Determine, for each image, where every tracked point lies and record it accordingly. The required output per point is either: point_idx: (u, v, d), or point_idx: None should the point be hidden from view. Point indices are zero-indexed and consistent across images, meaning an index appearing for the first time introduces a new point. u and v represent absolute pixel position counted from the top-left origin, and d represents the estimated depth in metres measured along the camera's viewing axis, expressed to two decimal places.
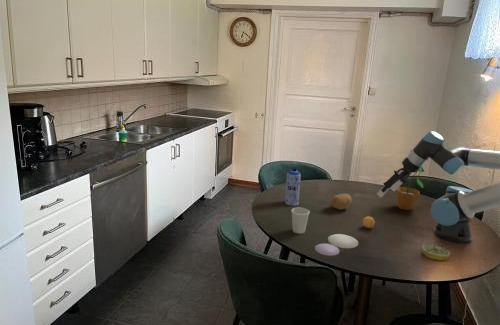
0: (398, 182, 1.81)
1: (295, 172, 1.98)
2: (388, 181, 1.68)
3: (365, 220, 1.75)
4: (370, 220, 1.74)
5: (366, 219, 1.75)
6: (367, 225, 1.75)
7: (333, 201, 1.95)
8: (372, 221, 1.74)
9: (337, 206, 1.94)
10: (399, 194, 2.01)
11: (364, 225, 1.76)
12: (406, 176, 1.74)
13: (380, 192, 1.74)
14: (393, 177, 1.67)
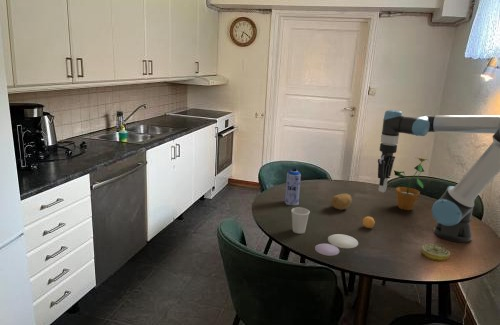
0: None
1: (295, 172, 1.98)
2: (379, 173, 1.74)
3: (365, 220, 1.75)
4: (370, 220, 1.74)
5: (366, 219, 1.75)
6: (367, 225, 1.75)
7: (333, 201, 1.95)
8: (372, 221, 1.74)
9: (337, 206, 1.94)
10: (399, 194, 2.01)
11: (364, 225, 1.76)
12: (389, 163, 1.75)
13: (380, 187, 1.78)
14: (379, 168, 1.73)
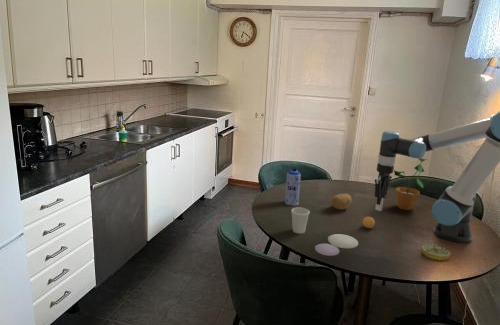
0: None
1: (295, 172, 1.98)
2: (376, 193, 1.77)
3: (365, 220, 1.75)
4: (370, 220, 1.74)
5: (366, 219, 1.75)
6: (367, 225, 1.75)
7: (333, 201, 1.95)
8: (372, 221, 1.74)
9: (337, 206, 1.94)
10: (399, 194, 2.01)
11: (364, 225, 1.76)
12: (386, 183, 1.78)
13: (377, 206, 1.82)
14: (376, 188, 1.76)
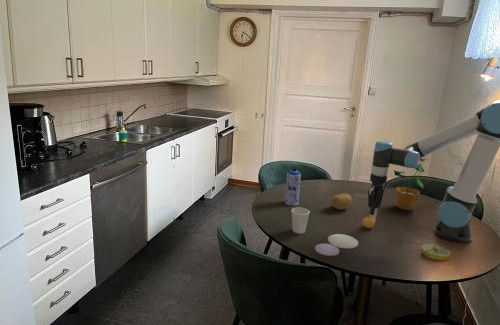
0: None
1: (295, 172, 1.98)
2: (369, 203, 1.75)
3: (365, 220, 1.75)
4: (370, 220, 1.74)
5: (366, 219, 1.75)
6: (367, 225, 1.75)
7: (333, 201, 1.95)
8: (372, 221, 1.74)
9: (337, 206, 1.94)
10: (399, 194, 2.01)
11: (364, 225, 1.76)
12: (379, 193, 1.76)
13: (371, 216, 1.80)
14: (369, 198, 1.74)
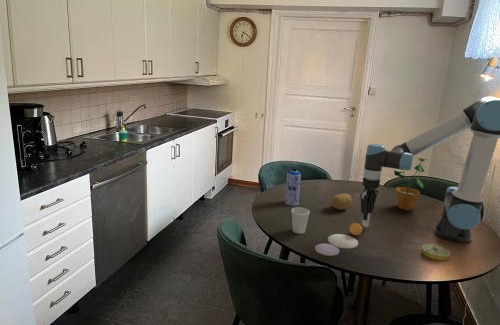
0: None
1: (295, 172, 1.98)
2: (362, 208, 1.70)
3: None
4: None
5: None
6: (359, 224, 1.68)
7: (333, 201, 1.95)
8: None
9: (337, 206, 1.94)
10: (399, 194, 2.01)
11: (355, 223, 1.69)
12: (372, 198, 1.71)
13: (364, 222, 1.74)
14: (362, 203, 1.69)
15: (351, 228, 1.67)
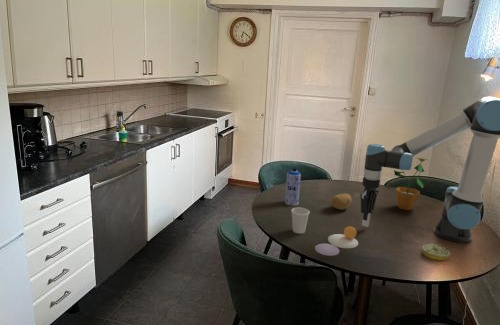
0: None
1: (295, 172, 1.98)
2: (362, 208, 1.70)
3: (347, 228, 1.64)
4: (352, 228, 1.63)
5: (348, 227, 1.64)
6: (349, 233, 1.62)
7: (333, 201, 1.95)
8: (354, 230, 1.63)
9: (337, 206, 1.94)
10: (399, 194, 2.01)
11: (345, 234, 1.64)
12: (372, 198, 1.71)
13: (364, 222, 1.74)
14: (362, 203, 1.69)
15: None
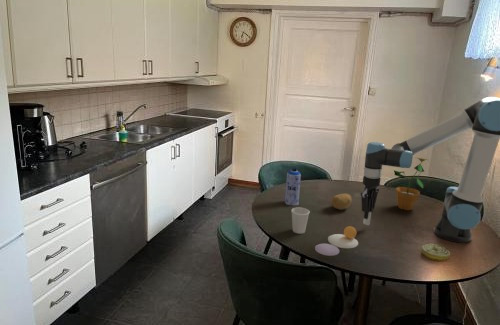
0: None
1: (295, 172, 1.98)
2: (363, 207, 1.70)
3: (347, 228, 1.64)
4: (352, 228, 1.63)
5: (348, 227, 1.64)
6: (349, 233, 1.62)
7: (333, 201, 1.95)
8: (354, 230, 1.63)
9: (337, 206, 1.94)
10: (399, 194, 2.01)
11: (345, 234, 1.64)
12: (373, 196, 1.70)
13: (365, 220, 1.74)
14: (363, 202, 1.68)
15: None
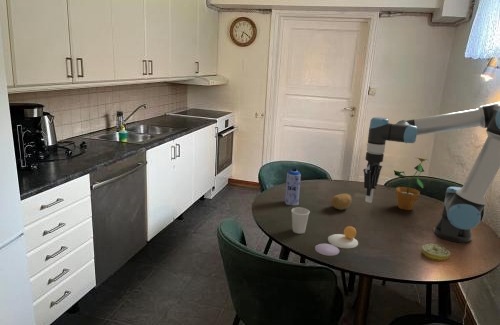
0: None
1: (295, 172, 1.98)
2: (365, 183, 1.67)
3: (347, 228, 1.64)
4: (352, 228, 1.63)
5: (348, 227, 1.64)
6: (349, 233, 1.62)
7: (333, 201, 1.95)
8: (354, 230, 1.63)
9: (337, 206, 1.94)
10: (399, 194, 2.01)
11: (345, 234, 1.64)
12: (376, 173, 1.67)
13: (367, 198, 1.71)
14: (365, 178, 1.65)
15: None
